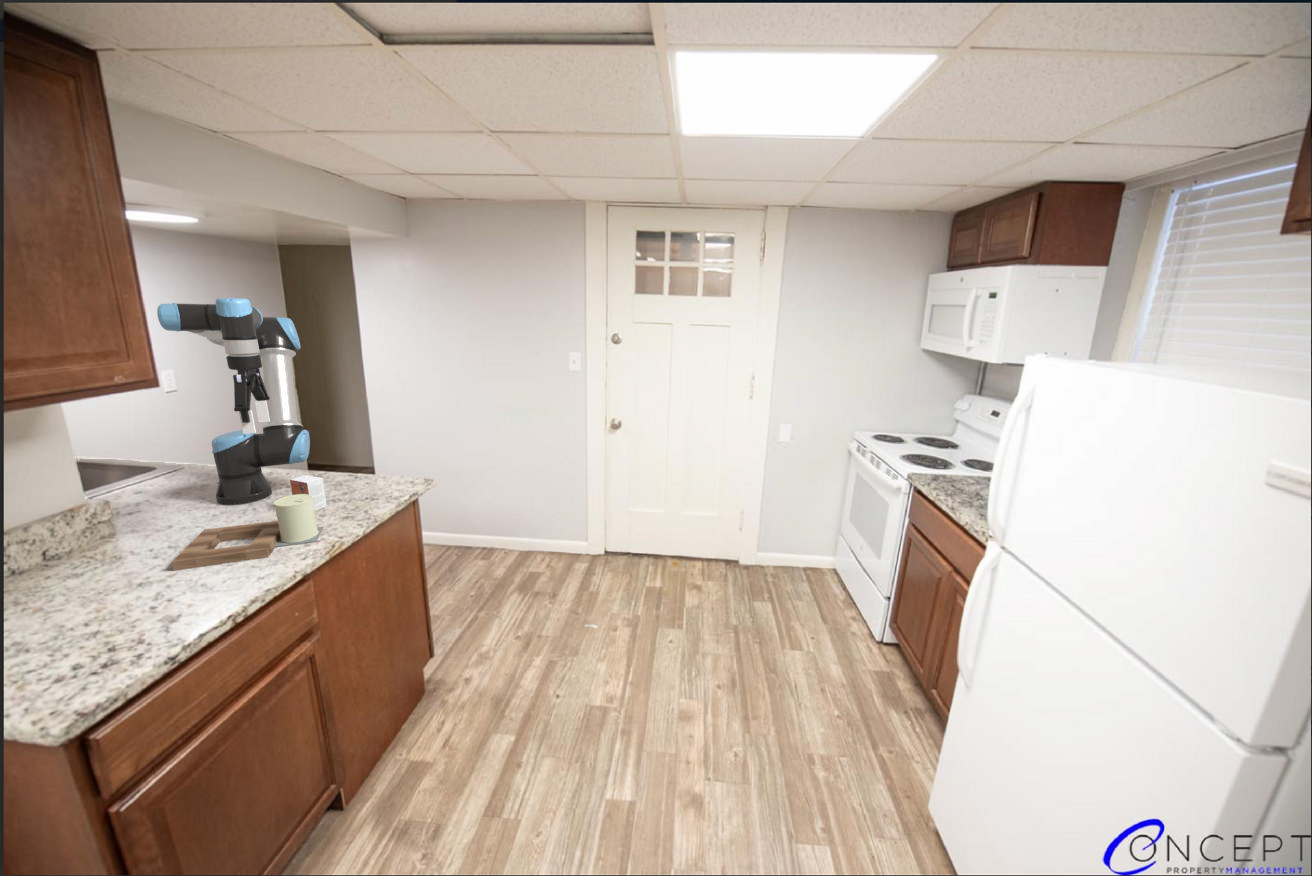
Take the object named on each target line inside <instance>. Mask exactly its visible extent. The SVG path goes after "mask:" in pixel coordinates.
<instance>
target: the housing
mask: <svg viewBox="0 0 1312 876" xmlns="http://www.w3.org/2000/svg"><path fill="white" fill-rule="evenodd" d="M280 537H281V536H280V530H279V525H278V520H275V521H274V520H273V521H266V522H265V521H263V522H256V523H249V524H239V525H231V526H223V527H214V528H206V529H204V530H202V531H201V532H200V533H199V534H198V535H196V537H195V538H194V539H193V540H192V541H190V543H189V544H188V545H187V546H186V547H185V548H184V549H183V550H182V551H181V552H180V553H179V554H178V555H176V557H175V558H174V559H173V560H172V561H171V565H172V566H171V567H172V571H175V572H176V571H182V570H188V569H190V570H191V569H195V568H196V569H197V568H203V567H208V566H217V565H223V564H231V563H238V562H245V561H251V560H252V561H253V560H258V559H266V558H269V557H270V556H271V554H272V552H273V551H274V549H276V547H275V545H276V543H277V542H278V540H279V539H280ZM252 538H254V540H253V541H252V542H251V543H250V544H242V545H235V546H228V547H221V548H219V547H218V548H216V547H217V546H218V545H219V544H220V543H222V542H230V541H238V540H245V539H246V540H247V539H252Z"/></svg>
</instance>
